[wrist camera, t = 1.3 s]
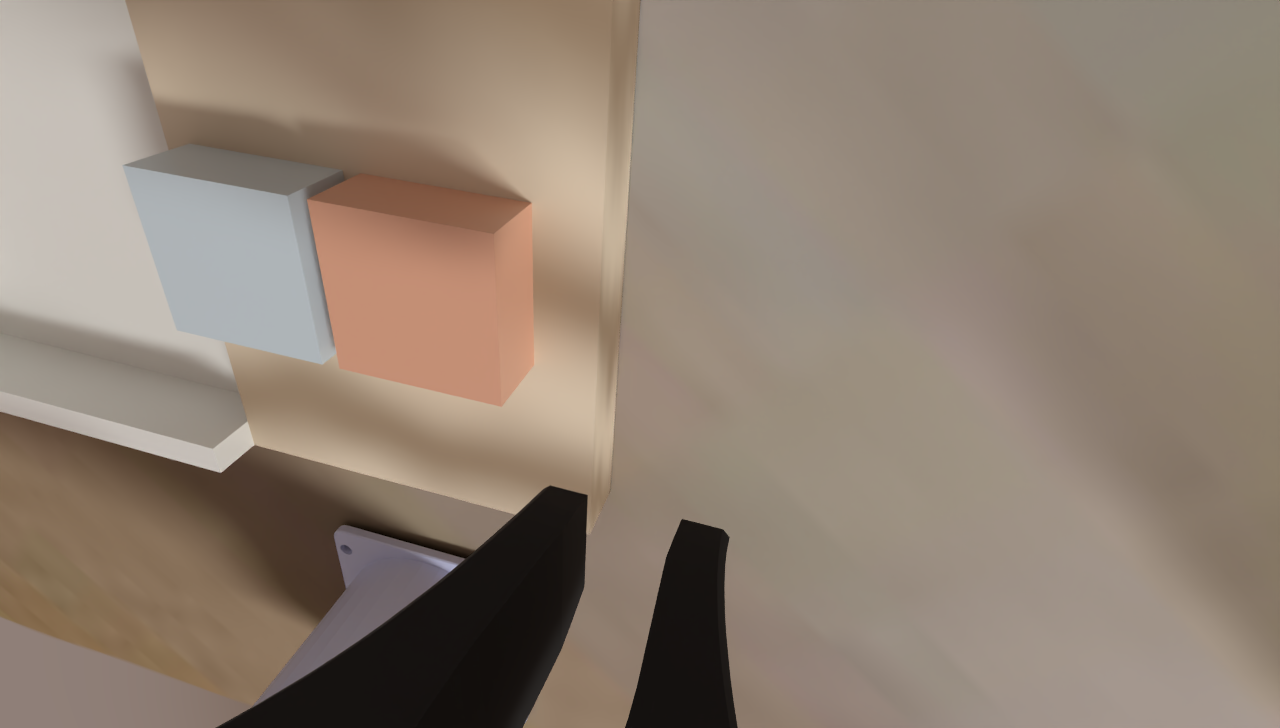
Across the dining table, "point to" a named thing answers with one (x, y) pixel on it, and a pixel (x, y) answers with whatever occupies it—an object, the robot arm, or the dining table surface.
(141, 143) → the box
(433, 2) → the birch plate
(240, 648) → the dining table surface
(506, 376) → the terracotta tile
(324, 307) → the blue tile
